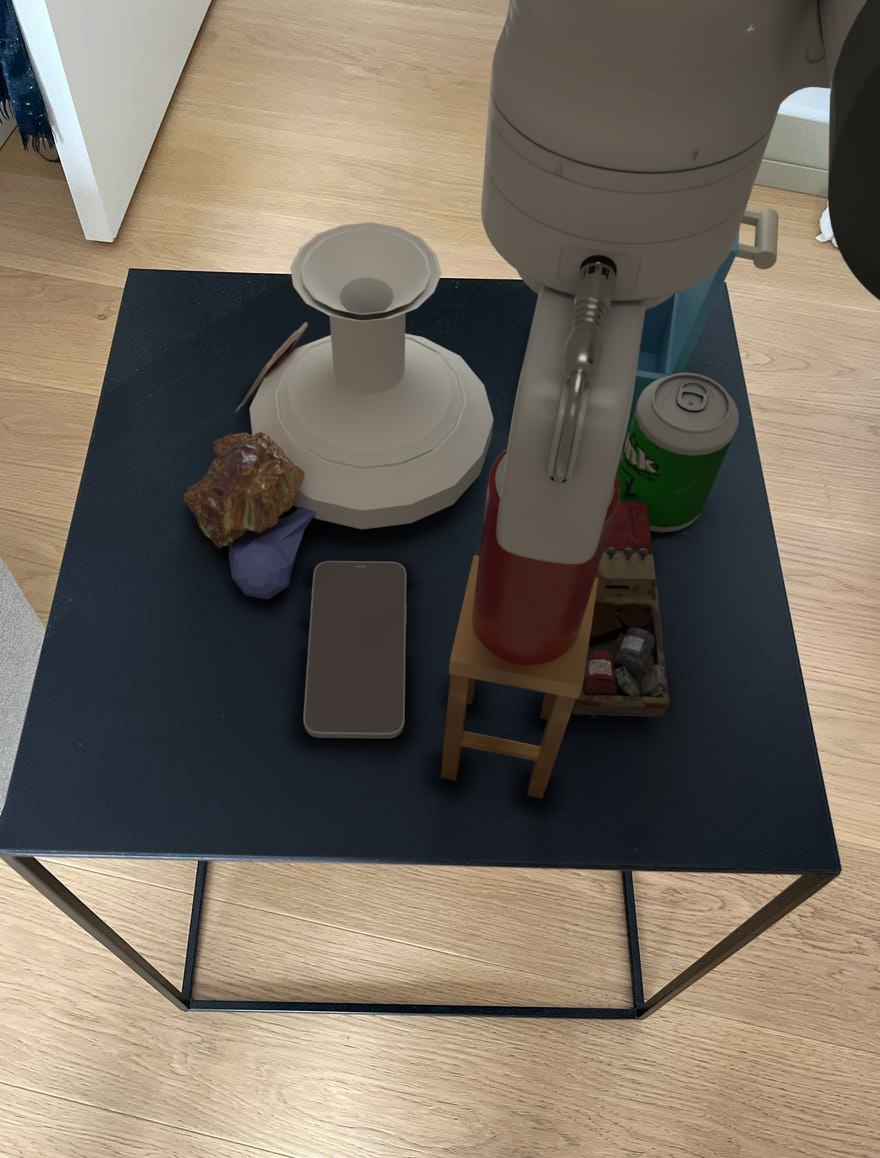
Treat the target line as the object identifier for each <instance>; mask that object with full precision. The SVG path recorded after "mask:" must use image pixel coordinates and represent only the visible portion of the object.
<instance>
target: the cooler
mask: <svg viewBox="0 0 880 1158" xmlns="http://www.w3.org/2000/svg"><path fill="white" fill-rule="evenodd" d="M679 298H680V291H679V292H676V293H674V294H673V295H672V296H671V297H670V298H668V299H667V300H665V301H664V302H662V303H660V304H659V305H657V306H655V307H652V308H650V309H647V310H645V316H644V323H643V330H642V337H641V344H640V351H639V358H638V365H637V373H636V380H635V387H634V394H633V400H632V406H631V411H630V417H629V421H628V426H627V431H626V436H625V441H624V443H626V439H627V436H628V433H629V429H630V426H631V422H632V419H633V415H634V412H635V409H636V405H637V402H638V399H639V397H640V396H641V394H642V392H643V390H644V389H645V388H646V387H647V386H649V385H650V384H651V383H652V382H654V381H656V380H658V379H661V378H664V377H666V376H670V374H671V366H672V357H673V349H674V340H675V332H676V323H677V315H678V306H679Z"/></svg>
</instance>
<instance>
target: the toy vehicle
mask: <svg viewBox="0 0 880 1158" xmlns="http://www.w3.org/2000/svg"><path fill="white" fill-rule="evenodd" d="M651 534H652V533H651V531H650V525H649V517H648V509H647V504H646V503H645V502H634V501H618V505H617V508H616V512H615V515H614V518H613V521H612V525H611V528H610V531H609V535H608V538H607V541H606V544H605V548H604V551H603V554H602V558H601V561H600V564H599V567H598V571H597V574H596V578H598V585H597V592H596V598H595V605H594V612H593V619H592V626H591V632H590V639H589V646H588V653H587V660H586V666H585V673H584V680H583V687H582V690H581V693H580V695H579V698H578V699H576V701H575V704H574V707H573V709H572V712H571V714H572V715H589V716H590V718H591V719H596V718H597V716H613V717H614V716H616V717H617V716H619V717H645V718H646V717H649V718H650V717H651V718H662V717H664V715H665V713H666V711H667V710H668V708H669V705H670V704H671V699H670V691H669V690H670V689H669V682H668V676H667V675H668V674H667V666H666V665H667V664H666V657H665V656H666V655H665V647H664V639H663V632H662V631H663V629H662V623H661V615H660V614H661V613H660V605H659V590H658V588H657V577H656V572H655V571H656V569H655V562H654V561H655V560H654V555H653V545H652V535H651Z"/></svg>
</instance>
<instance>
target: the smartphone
mask: <svg viewBox="0 0 880 1158" xmlns="http://www.w3.org/2000/svg"><path fill="white" fill-rule="evenodd" d="M406 629H407V571H406V568H405V567H404V566H403V564H401V563H399V562H396V561H374V560H373V561H369V560H368V561H367V560H363V561H360V560H359V561H358V560H357V561H356V560H325V561H322V562H320V563H318V564H316V566H315V567H314V570H313V575H312V587H311V602H310V617H309V632H308V633H309V634H308V646H307V661H306V662H307V663H306V676H305V677H306V678H305V689H304V702H303V703H304V704H303V725H304V726H303V727H304V729H305V731H306V733H307V734H308V735H310V736H311V737H314V738H318V739H320V738H321V739H322V738H323V739H383V740H384V739H386V740H387V739H394V738H397V737H399V736H400V735H401V734H402V733H403V731H404V728H405V718H406V717H405V716H406V715H405V713H406V712H405V711H406V709H405V708H406V706H405V705H406V645H407V644H406V640H407V639H406V638H407V637H406V636H407V635H406V634H407V630H406Z"/></svg>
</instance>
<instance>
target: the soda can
mask: <svg viewBox="0 0 880 1158" xmlns="http://www.w3.org/2000/svg"><path fill="white" fill-rule="evenodd" d="M739 415H740V413H739V409H738V408H737V405H736V403H735V400H734V399H733V398H732V397H731V396H730V394H729V393H728V391H727V390H726V388H724V387H723V385H722V384H721V383H719V382H717V381H715V380H714V379H712V378H711V377H708V376H705V375H702V374H700V373H692V372H682V373H677V374H673V375H670V376H666V377H664V378H661V379H658V380H656V381H654V382H652V383H651V384H650V385H649V386H647V387H646V388H645V389H644V390H643V392H642V394H641V396H640V397H639V399H638V402H637V405H636V409H635V412H634V415H633V419H632V422H631V426H630V429H629V433H628V436H627V439H626V442H624V445H623V449H622V453H621V457H620V461H619V465H618V470H617V474H616V475H617V477H618V481H619V486H620V497H619V501H634V502H645V503H646V504H647V509H648V517H649V525H650V532H656V533H657V532H658V533H668V532H669V533H670V532H678V531H680V530H683V529H685V528H687V527H690V526H691V525H692V524H693V523H695V521H696V520H697V519H698V518H700V515H701V513H702V511H703V509H704V507H705V505H706V502H707V499H708V497H709V495H710V492H711V490H712V488H713V485H714V483H715V481H716V478H717V476H718V474H719V471H720V469H721V467H722V464H723V463H724V461H725V457H726V454H727V452H728V450H729V448H730V445H731V443H732V441H733V438H734V436H735V433H736V431H737V429H738V426H739V425H740V424H739V417H740V416H739Z"/></svg>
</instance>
